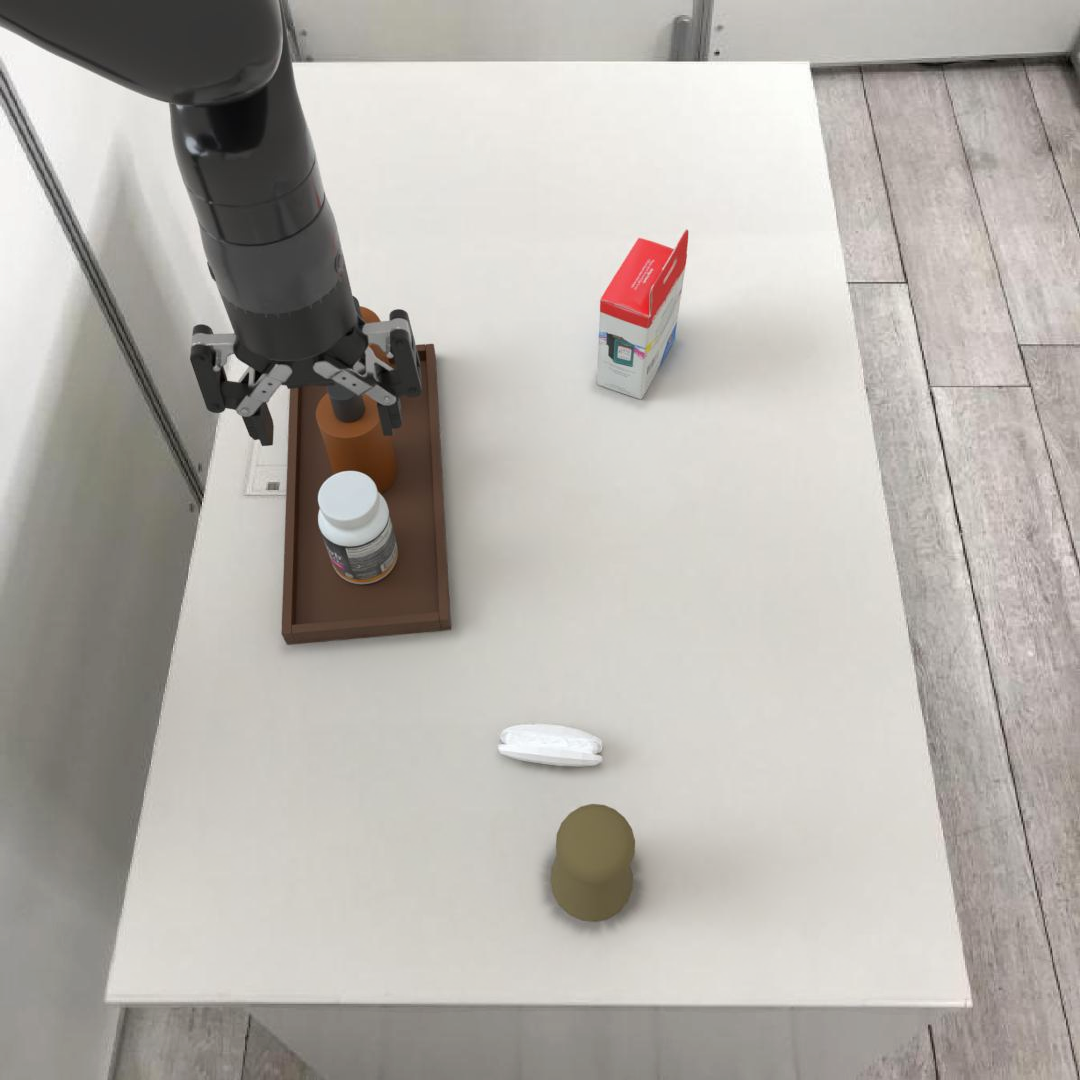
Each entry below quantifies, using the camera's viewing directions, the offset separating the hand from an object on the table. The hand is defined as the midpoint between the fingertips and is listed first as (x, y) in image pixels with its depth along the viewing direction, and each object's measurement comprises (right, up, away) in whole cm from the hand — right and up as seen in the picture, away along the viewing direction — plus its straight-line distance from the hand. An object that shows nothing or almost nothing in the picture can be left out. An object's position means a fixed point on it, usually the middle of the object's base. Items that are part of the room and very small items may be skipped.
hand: (328, 431), depth 76 cm
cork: (+19, -33, +2) cm, 38 cm away
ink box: (+24, +9, +27) cm, 38 cm away
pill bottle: (0, -9, +16) cm, 18 cm away
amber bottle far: (-1, +6, +25) cm, 26 cm away
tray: (0, -3, +20) cm, 20 cm away
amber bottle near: (-1, -2, +20) cm, 20 cm away
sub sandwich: (+16, -24, +7) cm, 30 cm away
